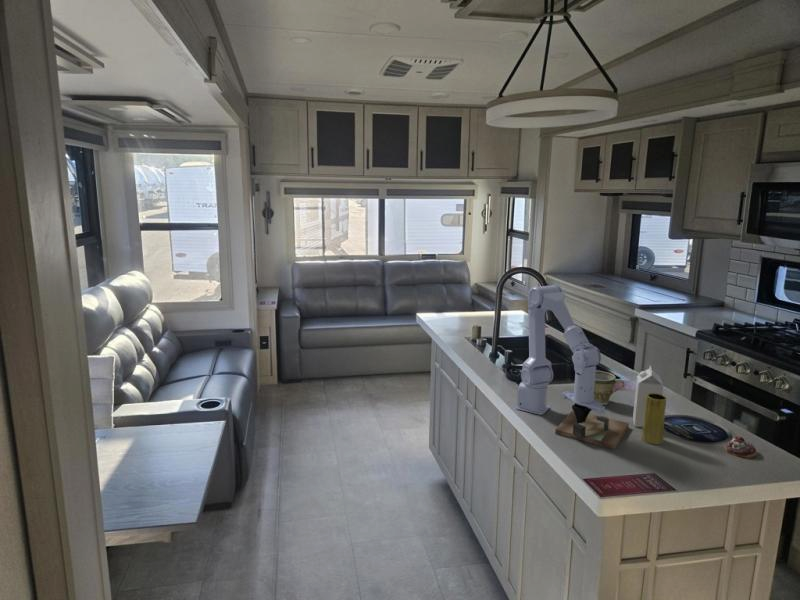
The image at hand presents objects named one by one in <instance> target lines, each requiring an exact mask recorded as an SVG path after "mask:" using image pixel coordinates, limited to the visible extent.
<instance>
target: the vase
mask: <svg viewBox="0 0 800 600" xmlns="http://www.w3.org/2000/svg"><path fill="white" fill-rule="evenodd" d="M666 404H667V397H666V396H665V395H664V394H662V395H661V394H657V393H650V394H648V395H647V403H646V410H645V418H644V425H643V427H642V435H641V440H642V441H644V442H645V443H647V444H651V445H661V444H663V443H664V432H665V417H666V416H665V415H666V409H667V408H666V406H667V405H666Z"/></svg>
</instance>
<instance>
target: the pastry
mask: <svg viewBox="0 0 800 600" xmlns="http://www.w3.org/2000/svg"><path fill="white" fill-rule="evenodd" d="M724 450H725V451H726V452H727V453H728V454H730V455H733V457H737V458H741V459H754V458H756V457H757V450H756V447H755V446H754V445H753V444H752V443H751V442H749V441H746V439H744V438H743V437H742V436H738V435H735V437H734V438H732V439H731V440H729V441H727V443H726V444H725V446H724Z"/></svg>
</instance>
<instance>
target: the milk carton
mask: <svg viewBox="0 0 800 600" xmlns="http://www.w3.org/2000/svg"><path fill="white" fill-rule="evenodd" d="M663 390H664V384H663V382H662V379H661V377H660V376H659V375H658V374H657V373H656V372H655V371H654V370H652V366H651V365H649V368H647V369H646V370H642V371H640V372H639V373H638V374H637V375H636V386H635V394H634V403H633V414H632V419H633V425H634V427H637V428H638V427H639V428H643V425H644V418H645V410H646V403H647V395H648V394H650V393H657V394H661V395H663Z"/></svg>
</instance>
